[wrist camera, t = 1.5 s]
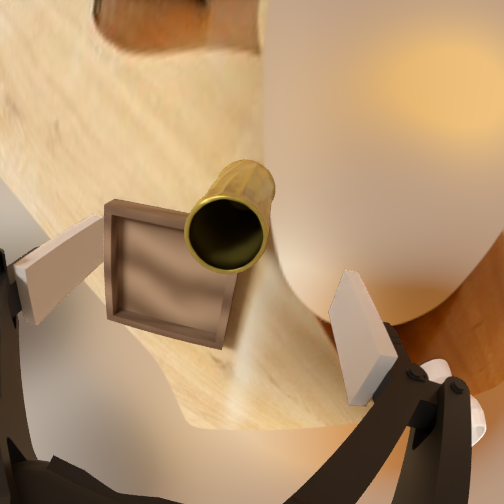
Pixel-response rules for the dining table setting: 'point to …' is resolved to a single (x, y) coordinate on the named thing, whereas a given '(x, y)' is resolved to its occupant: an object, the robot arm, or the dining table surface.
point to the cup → (441, 371)
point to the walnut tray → (161, 277)
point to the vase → (232, 219)
